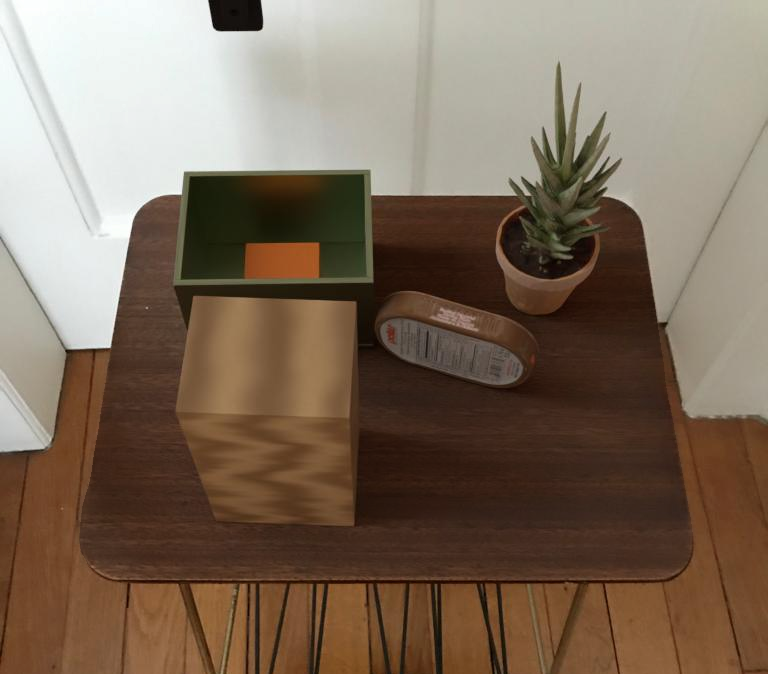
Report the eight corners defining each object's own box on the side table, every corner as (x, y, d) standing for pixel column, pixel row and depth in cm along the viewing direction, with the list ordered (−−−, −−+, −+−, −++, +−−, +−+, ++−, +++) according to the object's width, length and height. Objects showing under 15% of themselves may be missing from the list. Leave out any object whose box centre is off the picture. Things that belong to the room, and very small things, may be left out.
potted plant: (487, 252, 91) (524, 30, 69) (580, 255, 91) (648, 35, 69) (488, 332, 87) (528, 124, 65) (586, 336, 87) (660, 128, 65)
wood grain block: (216, 521, 78) (175, 411, 62) (228, 422, 82) (193, 295, 66) (354, 526, 78) (349, 417, 62) (359, 427, 82) (356, 301, 66)
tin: (531, 377, 85) (547, 321, 77) (523, 403, 83) (538, 350, 76) (381, 333, 87) (382, 275, 79) (370, 358, 85) (370, 302, 78)
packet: (249, 311, 87) (243, 284, 83) (251, 271, 89) (245, 243, 85) (321, 310, 87) (319, 283, 83) (321, 270, 89) (319, 242, 86)
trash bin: (373, 348, 86) (373, 282, 77) (193, 351, 86) (173, 285, 77) (370, 241, 92) (370, 169, 83) (201, 244, 91) (183, 171, 83)
